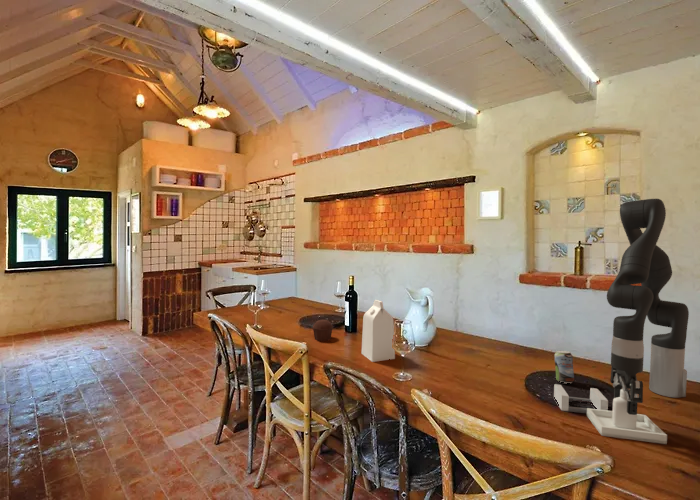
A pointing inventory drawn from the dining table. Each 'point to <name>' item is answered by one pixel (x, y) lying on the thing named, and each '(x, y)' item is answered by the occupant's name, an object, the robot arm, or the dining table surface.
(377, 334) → the milk
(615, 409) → the eye dropper bottle
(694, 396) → the dining table surface
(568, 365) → the beverage can
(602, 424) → the tray
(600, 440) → the dining table surface
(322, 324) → the muffin
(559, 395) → the holder
